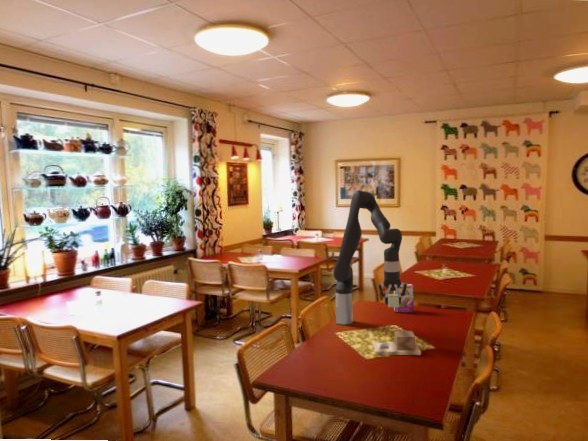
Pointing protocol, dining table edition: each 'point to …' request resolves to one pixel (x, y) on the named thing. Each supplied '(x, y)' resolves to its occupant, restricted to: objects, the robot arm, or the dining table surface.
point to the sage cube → (393, 300)
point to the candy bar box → (406, 300)
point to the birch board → (393, 349)
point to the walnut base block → (404, 340)
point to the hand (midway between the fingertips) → (392, 304)
